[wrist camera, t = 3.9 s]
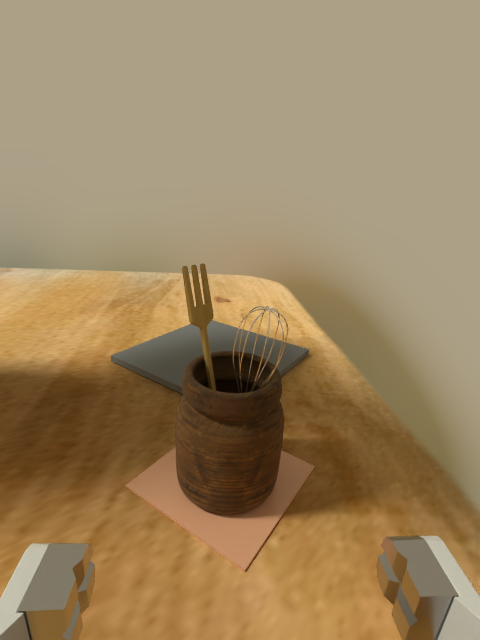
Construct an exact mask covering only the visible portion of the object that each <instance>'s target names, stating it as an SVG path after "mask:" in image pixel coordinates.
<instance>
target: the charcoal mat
mask: <svg viewBox="0 0 480 640" xmlns="http://www.w3.org/2000/svg"><path fill="white" fill-rule="evenodd" d="M242 330H243V329H239V332H238V328H236V327H233V326H229V325H226V324H223V323H219V322H216V321H213V320H211V322H210V323H209V324H208V325H207V333H208V340H209V346H210V353H213V352H219V351H233V348H234V343H235V339H236V335H237V332H238V335H237V339H236V343H235V348H234V351H238V352H239V344H240V338H241V334H242ZM248 332H249V331H246V330H243V334H242V338H241V344H240V352H243V349H244V345H245V341H246V338H247V335H248ZM256 337H257V340H256ZM266 338H267V337H266V336H263V335H259V334H258V336H257V334H256V333H253V332H249V335H248V338H247V342H246V345H245V349H244V352H245V353H250V354H253V350H254V355H257V356H260V357H262V354H263V350H264V346H265V342H266ZM255 341H256V345H255ZM273 341H274V339H272V338H269V337H268V338H267V342H266V346H265V350H264V354H263V358H264V359H266V360H267V358H268V356H269V353H270V351H271V348H272V345H273ZM284 343H285V342H283V345H282V341H279V340H276V339H275V341H274V345H273V348H272V351H271V353H270V356H269V358H268V361H270V362H271V363H272V364H274V365H275V366H276V363H277V360H278V356H279V353H280V349H281V345H282V349H281V353H280V357H281V354H282V351H283V347H284ZM254 345H255V349H254ZM308 352H309V349H306V348H302V347H299V346H296V345H292V344H289V343H285V347H284V351H283V354H282V357H281V359H280V357H279V359H280V361H279V360H278V361H279V364H278V365H277V369H278V370H279V372H280V376H281V377H282V376H283V375H284V374H285V373H286V372H288V371H289V370H290V369H291V368H292V367H294V366H295V365H296V364H297V363H299V362H300V361H301V360H302V359H303V358H305V357H306V356H307V355H308ZM202 355H204V353H203V347H202V340H201V334H200V329H199V327H197V326H195V325H192V324H190V325H187V326H185V327H182V328H179V329H177V330H174V331H172V332H169V333H167V334H164V335H162V336H159V337H157V338H154V339H152V340H149V341H147V342H144V343H142V344H139V345H136V346H134V347H131V348H129V349H126V350H124V351H121V352H119V353H116V354H114V355H111V361H112V362H114V363H116V364H118V365H120V366H123V367H125V368H127V369H129V370H131V371H133V372H136V373H138V374H140V375H142V376H144V377H147V378H149V379H151V380H153V381H155V382H157V383H160V384H162V385H164V386H166V387H168V388H170V389H173V390H175V391H177V392H179V393H181V394H183V392H182V381H183V376H184V372H185V369H186V367H187V365H188V364H189V363H190V362H191V361H192V360H194V359H195V358H197V357H199V356H202Z"/></svg>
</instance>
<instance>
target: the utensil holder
mask: <svg viewBox="0 0 480 640" xmlns="http://www.w3.org/2000/svg"><path fill="white" fill-rule="evenodd" d="M191 269H192V277H193V284H194V292H195V299H196V307H194V301H193V295H192V290H191V284H190V278H189V272H188V268H187V266H183V268H182V270H183V279H184V286H185V293H186V300H187V308H188V315H189V321H190V323H191V324H192V325H195V326H197V327H199V329H200V334H201V340H202V347H203V353H204V355H202V356H199V357H197V358H195V359H194V360H192V361H191V362H190V363H189V364H188V365H187V367H186V369H185V372H184V376H183V381H182V392H183V396H182V398H181V400H180V402H179V405H178V409H177V414H176V471H177V478H178V482H179V485H180V487H181V489H182V491H183V493H184V494H185V496H186V497H187V498H188V499H189V500H190V501H191V502H192V503H193V504H195V505H196V506H198V507H200V508H201V509H204V510H206V511H209V512H212V513H216V514H225V515H231V514H239V513H243V512H247V511H249V510H252V509H254V508H256V507H257V506H259V505H260V504H262V503H263V502H264V501H265V500H266V499H267V498H268V497H269V495H270V494H271V492H272V490H273V488H274V486H275V483H276V480H277V476H278V470H279V464H280V456H281V448H282V439H283V429H284V415H283V409H282V405H281V403H280V401H279V400H280V397H281V393H282V385H281V376H280V372H279V370H278V369H277V365H278V364H279V361H280V359H281V357H282V354H283V351H284V347H285V343H286V339H287V335H288V324H287V321H286V319H285V318H284V316H283V315H282V314H280V313H279V312H278V310H277V309H274V308H271V309H269V307H268V306H267V307H268V308H267V307H263V306H258V307H263V308H265V309H256V310H254V311H257V310H264V312H266V311H268V310H269V325H268V332H267V338H268V333H269V326H270V311H271V312H273V311H275V310H276V311H275V312H277V313H278V316H279V314H280V315H281V316H282V317H283V318H284V320H285V322H286V325H287V335H286V339H285V343H284V347H283V351H282V354H281V357H280V353H281V349H282V345H283V340H284V332H283V326H282V323H281V321H280V317H278V316H277V315H276V314H275V313H274V312H273V313H274V314H275V315H276V316H277V318H278V319H279V321H280V324H281V327H282V332H283V340H282V345H281V349H280V353H279V356H278V360H279V361H278V360H277V363H276V366H275V365H274V364H272V363H271V362H270V361H268V358H269V356H270V353H271V351H272V348H273V345H274V341H275V338H274V341H273V345H272V348H271V351H270V353H269V356H268V358H267V360H266V359H264V358H263V354H264V350H265V346H266V342H267V338H266V342H265V346H264V350H263V354H262V357H260V356H257V355H254V350H253V354H250V353H245V352H244V349H245V345H246V342H247V338H248V335H249V332H250V330H251V328H252V326H253V324H254V323H255V321H256V320H257V319H258V317H259V316H260V315H261V314H264V312H262V313H261V314H260V315H259V316H258V317H257V318H256V320H255V321H254V322H253V324H252V326H251V328H250V330H249V332H248V335H247V338H246V341H245V345H244V349H243V352H240V344H241V338H242V334H243V330H244V326H245V323H246V320H245V323H244V326H243V330H242V334H241V338H240V344H239V352H238V351H234V348H235V343H236V339H237V335H238V332H239V328H240V326H241V323H242V321H243V320H244V319H245V318H246V319H247V317H248V315H249V314H250V313H252V312H254V311H252V310H253V309H255V308H258V307H255V308H253V309H252V310H251V311H252V312H251V311H250V312H249V313H248V314H247V315H246V316H245V317H244V318H243V320H242V321H241V323H240V325H239V328H238V332H237V335H236V339H235V343H234V348H233V351H219V352H213V353H210V346H209V340H208V333H207V325H208V324H209V323H210V322H211V320H212V319H213V309H212V303H211V297H210V291H209V285H208V279H207V273H206V267H205V264H201V265H200V270H201V278H202V286H203V293H204V301H205V304H204V305H203V301H202V295H201V289H200V283H199V277H198V272H197V267H196V265H192V267H191ZM272 309H274V310H272ZM262 318H263V315H262ZM262 318H261V321H262ZM261 321H260V325H261ZM279 321H278V326H279ZM260 325H259V329H260ZM278 326H277V330H278ZM259 329H258V332H259ZM277 330H276V334H277ZM276 334H275V337H276ZM257 336H258V333H257ZM256 340H257V337H256ZM255 345H256V341H255ZM255 345H254V349H255ZM279 357H280V359H279Z"/></svg>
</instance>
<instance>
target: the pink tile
mask: <svg viewBox="0 0 480 640" xmlns="http://www.w3.org/2000/svg"><path fill="white" fill-rule="evenodd" d="M314 468H315V466H314V465H312V464H310V463H307V462H305V461H303V460H301V459H299V458H297V457H295V456H293V455H291V454H289V453H287V452H284V451H282V450H281V456H280V464H279V470H278V476H277V480H276V483H275V486H274V488H273V490H272V492H271V494H270V495H269V497H268V498H267V499H266V500H265V501H264V502H263V503H262V504H260V505H259V506H257V507H256V508H254V509H252V510H249V511H247V512H243V513H239V514H231V515H225V514H216V513H212V512H209V511H206V510H204V509H201V508H200V507H198V506H196V505H195V504H193V503H192V502H191V501H190V500H189V499H188V498H187V497H186V496H185V494H184V493H183V491H182V489H181V487H180V485H179V482H178V478H177V471H176V447H174V448H173V449H172V450H171V451H169V452H168V453H167V454H165V455H164V456H163V457H161V458H160V459H159V460H158V461H156V462H155V463H154V464H152V465H151V466H150V467H148V468H147V469H146V470H144V471H143V472H142V473H141V474H139V475H138V476H137V477H135V478H134V479H133V480H131V481H130V482H129V483H128V484H126V485H125V487H127V488H128V489H129V490H131V491H132V492H134V493H135V494H136V495H138V496H139V497H141V498H142V499H143V500H145V501H146V502H148V503H149V504H150V505H152V506H153V507H155V508H156V509H157V510H159V511H160V512H161V513H163V514H164V515H166V516H167V517H168V518H170V519H171V520H173V521H174V522H175V523H177V524H178V525H180V526H181V527H182V528H184V529H185V530H187V531H188V532H189V533H191V534H192V535H194V536H195V537H196V538H198V539H199V540H201V541H202V542H203V543H205V544H206V545H208V546H209V547H210V548H212V549H213V550H215V551H216V552H217V553H219V554H220V555H222V556H223V557H224V558H226V559H227V560H229V561H230V562H231V563H233V564H234V565H236V566H237V567H238V568H240V569H241V570H242V571H244V572H245V571H246V569H247V568H248V566H249V565H250V563H251V562H252V560H253V559H254V557H255V556H256V554H257V553H258V551H259V550H260V548H261V547H262V545H263V544H264V542H265V541H266V539H267V538H268V536H269V535H270V533H271V532H272V530H273V529H274V527H275V526H276V524H277V523H278V521H279V520H280V518H281V517H282V515H283V514H284V512H285V511H286V509H287V508H288V506H289V505H290V503H291V502H292V500H293V499H294V497H295V496H296V494H297V493H298V491H299V490H300V488H301V487H302V485H303V484H304V482H305V481H306V479H307V478H308V477H309V475H310V474H311V472H312V471H313V469H314Z"/></svg>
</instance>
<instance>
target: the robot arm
mask: <svg viewBox="0 0 480 640" xmlns="http://www.w3.org/2000/svg"><path fill="white" fill-rule="evenodd" d="M382 548H383V550H384V553H383V554H381V555H380V556H379V557H378V561H377V577H378V581H379V584H380V587H381V590H382V592H383V595H384V596H385V597H386V598H387V599H388V600H389V601H390V602H391V603H392V604H393V609H392V616H393V619H394V621H395V623H396V626H397V628H398V630H399V633H400V635H401V638H402V640H480V596H479V595H478V593H477V592H476V590H475V589H474V587H473V586H472V584H471V583H470V581H469V580H468V578H467V577H466V575H465V574H464V572H463V571H462V569H461V568H460V566H459V565H458V563H457V561H456V560H455V558H454V557H453V555H452V554H451V552H450V551H449V549H448V548H447V546H446V545H445V543H444V542H443V540H442V539H441V538H440V537H438V536H394V537H386V538H385V539H384V540H383V543H382ZM92 554H93V548H92V544H73V543H40V544H31V545H30V546H29V547H28V548H27V549H26V550H25V552H24V554H23V556H22V558H21V560H20V562H19V564H18V566H17V568H16V570H15V571H14V573H13V575H12V577H11V579H10V581H9V583H8V585H7V587H6V589H5V591H4V593H3V594H2V596H1V598H0V640H79V637H80V634H81V630H82V627H83V626H82V618H81V614H82V613H83V612H84V611H85V610H86V609H87V608H88V607H89V603H90V600H91V596H92V592H93V587H94V581H95V564H94V563H93V562H91V561H90V560H91V557H92Z"/></svg>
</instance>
